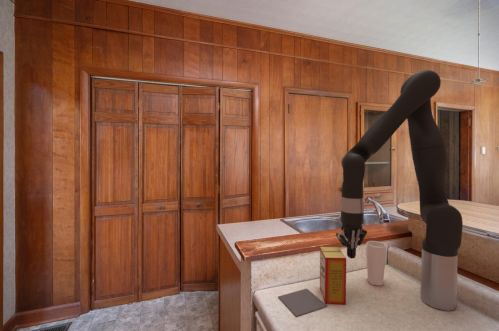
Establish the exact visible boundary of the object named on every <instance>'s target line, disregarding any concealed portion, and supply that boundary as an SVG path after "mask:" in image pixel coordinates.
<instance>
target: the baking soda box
mask: <svg viewBox="0 0 499 331" xmlns="http://www.w3.org/2000/svg"><path fill="white" fill-rule="evenodd" d="M319 289H320V293H321V295H322V298H323V302H324V303H325V304H326V305H332V306H333V305H334V306H335V305H337V306H346V305H347V257H346V255H345V254H344V252H343V251H342V250H341V248H340V246H319Z"/></svg>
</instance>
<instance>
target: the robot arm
mask: <svg viewBox="0 0 499 331" xmlns="http://www.w3.org/2000/svg"><path fill="white" fill-rule="evenodd" d="M441 81H442V80H441V77H440V75H439V74H438V73H437V72H436V71H433V70H429V69H424V70H419V71H418V72H415V73H413V74H412V75H410V76H409V78H407V79H406V80H404V82H403V83H402V85H401V88H400V91H399V92H400V93H399V97H398V98H396V100H395V101H394V103H393V104H392V105H391V106H390V107H388V109H387V110H386V111H385V112H384V113H383V114H382V115H381V116H380V117H379V118H378V119H377V120H375V122H373V124H372V125H371V126H370V127H368V129H367V130H366V132H365V133H363V135H362V136H361V138H360V139H359V140H358V142H357V143H356V144H355V145H354V146H353V147H351V149H350V150H348V152H347V153H346V154H345V155H344V156H343V157H342V159H341V167H342V184H341V200H340V222H341V227H340V230H341V231H340V232H339V233H338V232H336V233H335V237H336V238H337V239H338V240H339V242H340V243H341V245H342V246H344V247H345V248H346V256H347V258H349V259H351V260H353V259H355V258H356V256H357V248H358V246H361V245H362V243H363V242H364V239H365V237H367V236H366V235H367V233H368V231H367V230H366V229H364V228H363V225H364V220H365V219H364V215H365V214H364V213H365V210H364V209H365V205H364V204H365V203H364V181H365V171H366V162H367V161H368V160H369V159H370V158H371V157H372V156H373V155H375V154H376V153H377V152H379V150H381V149H382V147H383V146H384V145H385V144H386V143H387V142H388V141H389V139H390V138H391V137H392V136H393V135H394V134H395V133H396V131H397V130H398V129H399V128H400V127H401V126H402V124H403V123H404V122H406V120H407V124H408V125H407V126H408V128H407V129H408V135H409V143H410V150H411V151H410V152H411V157H412V162H413V167H414V168H413V169H414V172H415V176H416V181H417V184H418V191H419V192H418V195H419V196H418V197H419V214H420V218H421V220H422V221H423V223H425V225H426V226H425V227H426V228H425V238H423V239H422V241H421V267H420V268H421V269H420V270H421V273H420V299H421V301H422V302H424V303H425V304H426V305H427V306H430V307H432V308H434V309H438V310H442V311H449V312H450V311H453V310H456V307H457V306H456V305H457V298H458V297H457V296H458V295H457V293H458V292H457V290H458V259H459V258H458V257H459V256H458V255H459V249H460V248H461V245H462V238H463V237H462V236H463V228H464V227H463V217H462V213H461V212H460V210H458V208H456V207H455V206H453V205H451V204H449V201H448V197H447V193H446V188H445V187H446V186H445V183H446V182H445V181H446V175H447V170H448V162H449V159H448V152H447V150H448V149H447V145H446V140H445V138H444V135H443V133H442V131H441V130H440V128H439V125H438V124H437V123H436V120H435V118H434V115H433V112H432V111H433V109H432V101H431V100H432V98H433V97H434V96H436V94H437V93H438V91H439V90H440V88H441V86H442V84H441V83H442V82H441Z"/></svg>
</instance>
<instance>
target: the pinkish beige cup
mask: <svg viewBox="0 0 499 331" xmlns="http://www.w3.org/2000/svg"><path fill="white" fill-rule="evenodd" d="M365 245H366V247H365V252H366V253H365V255H366V268H367V270H366V271H367V281H368V283H370V284H371V285H373V286H378V287H380V286H382V285H384V277H385V269H386V260H387V244H385V243H384V242H381V241H378V240H368V241H366V244H365Z"/></svg>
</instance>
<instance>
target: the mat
mask: <svg viewBox="0 0 499 331" xmlns="http://www.w3.org/2000/svg"><path fill="white" fill-rule="evenodd" d="M277 298H278V299H279V301H280V302H281V303H283V305H284V306H285V307H286V308H287V310H289V312H291V313H292V314H293V316H294V317H295V318H298V317H301V316H305V315H307V314H311V313H314V312H317V311H318V310H319V311H320V310H323V309H325V308H328V304H325V302H324V301H322V300H321V299H320V298H319V297H318V296H317V295H315V294H314V293H313V292H312V291H311V290H310V289H308V288H307V287H306V288H304V289H299V290H296V291H293V292H289V293H286V294H282V295H278V296H277Z"/></svg>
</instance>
